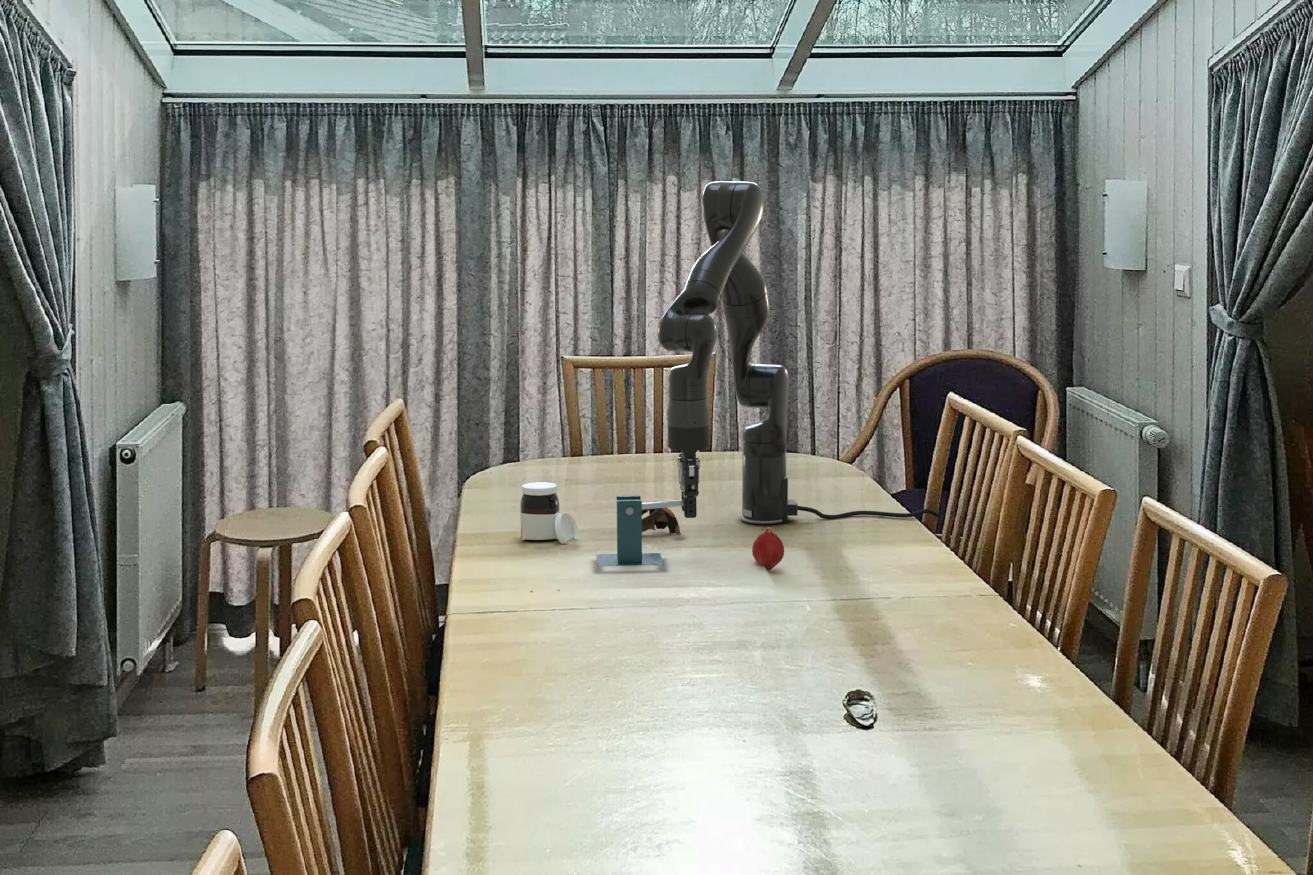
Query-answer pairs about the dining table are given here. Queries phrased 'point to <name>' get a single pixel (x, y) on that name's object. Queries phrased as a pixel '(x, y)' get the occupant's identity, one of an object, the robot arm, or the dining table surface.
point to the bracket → (629, 537)
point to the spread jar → (544, 515)
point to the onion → (768, 549)
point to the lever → (663, 504)
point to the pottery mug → (660, 520)
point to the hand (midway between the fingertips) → (689, 513)
